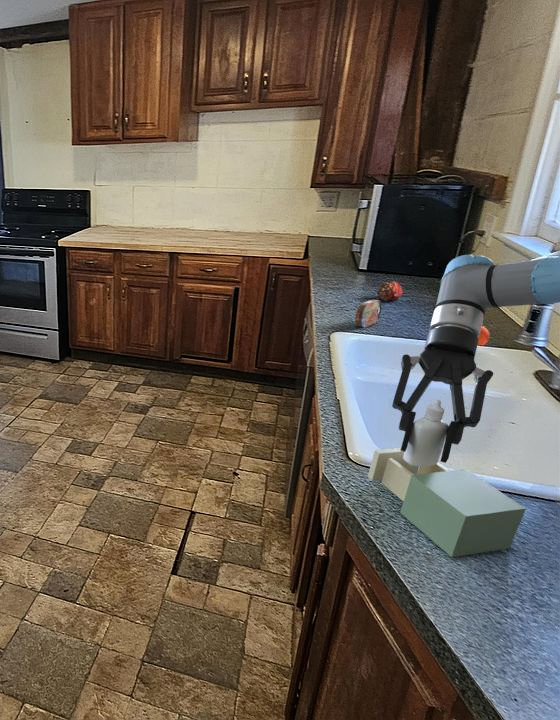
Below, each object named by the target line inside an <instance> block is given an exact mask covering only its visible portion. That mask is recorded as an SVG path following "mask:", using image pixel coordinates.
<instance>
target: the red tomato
mask: <svg viewBox="0 0 560 720" xmlns="http://www.w3.org/2000/svg"><path fill="white" fill-rule="evenodd" d="M489 340H490V332H489V330H488V329H487V328H486V327H485V326H483V325H482V327H481V331H480V336H479V337H478V345H482V346H485V345H486V344H487V343H488V342H489Z"/></svg>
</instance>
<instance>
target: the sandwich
mask: <svg viewBox="0 0 560 720" xmlns="http://www.w3.org/2000/svg"><path fill="white" fill-rule="evenodd" d="M381 312H382V302H381V300H378V299H369V300H367V301H365V302H362V303H360V304H359V305H358V306H357V309H356V311H355V319H354V325H355V326H356V327H360V328H364V329H365V328H368V327H369V326H372V325H374V324H376V323H377V322H378V320H379V318H380V317H381V316H380V315H381Z"/></svg>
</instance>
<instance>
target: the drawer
mask: <svg viewBox="0 0 560 720" xmlns="http://www.w3.org/2000/svg"><path fill="white" fill-rule="evenodd" d="M400 450H401V447H392V448H382V449H374V452H373V455H372V460H371V463H370V467H369V471H368V475H367V478H368V479H370V480H371V481H381V484H382V485H383V486H384V487H385V488H387V489H388V490H389V491H390V492H391V493H393V494H394V495H395V496H396V497H397V498H399V499H400V500H401V501H402V502H404V499H405V495H406V492H407V488H408V485H409V482H410V478H411V475H418V474H426V473H435V472H444V471H451V470H450V469H449V468H448V467H446V466H445V465H443V464H441V463H440V462H438V463H437V464H435V465H432V466H427V467H419V466H412V465H410V464H409V463H407V462H406V461H405V460H404V459H403V456H404V451H400Z"/></svg>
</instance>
